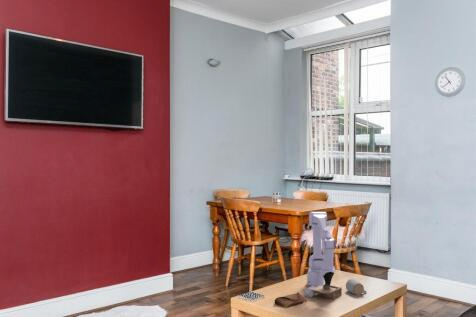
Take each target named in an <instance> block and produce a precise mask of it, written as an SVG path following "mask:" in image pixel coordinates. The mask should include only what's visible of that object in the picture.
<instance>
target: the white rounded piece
mask: <svg viewBox="0 0 476 317" xmlns="http://www.w3.org/2000/svg"><path fill="white" fill-rule="evenodd" d="M315 287H316V286H311V285H310V286H309V287H307V288H305V289H304V290H303V295H304V296H305V297H308V298H312V297H315V296H317V292H315V291H311V289H313V288H315Z"/></svg>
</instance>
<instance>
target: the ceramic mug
mask: <svg viewBox="0 0 476 317" xmlns="http://www.w3.org/2000/svg"><path fill="white" fill-rule="evenodd" d="M345 289H346V290H347V292H349V293H350V294H352V295H354V296H360V295H362V294H367V292H368V291H367V290H365V286H364V285H363V284H362V283H361V282H359V281H358V280H356V279H355V278H349V279H348V280H347V281H346V283H345Z"/></svg>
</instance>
